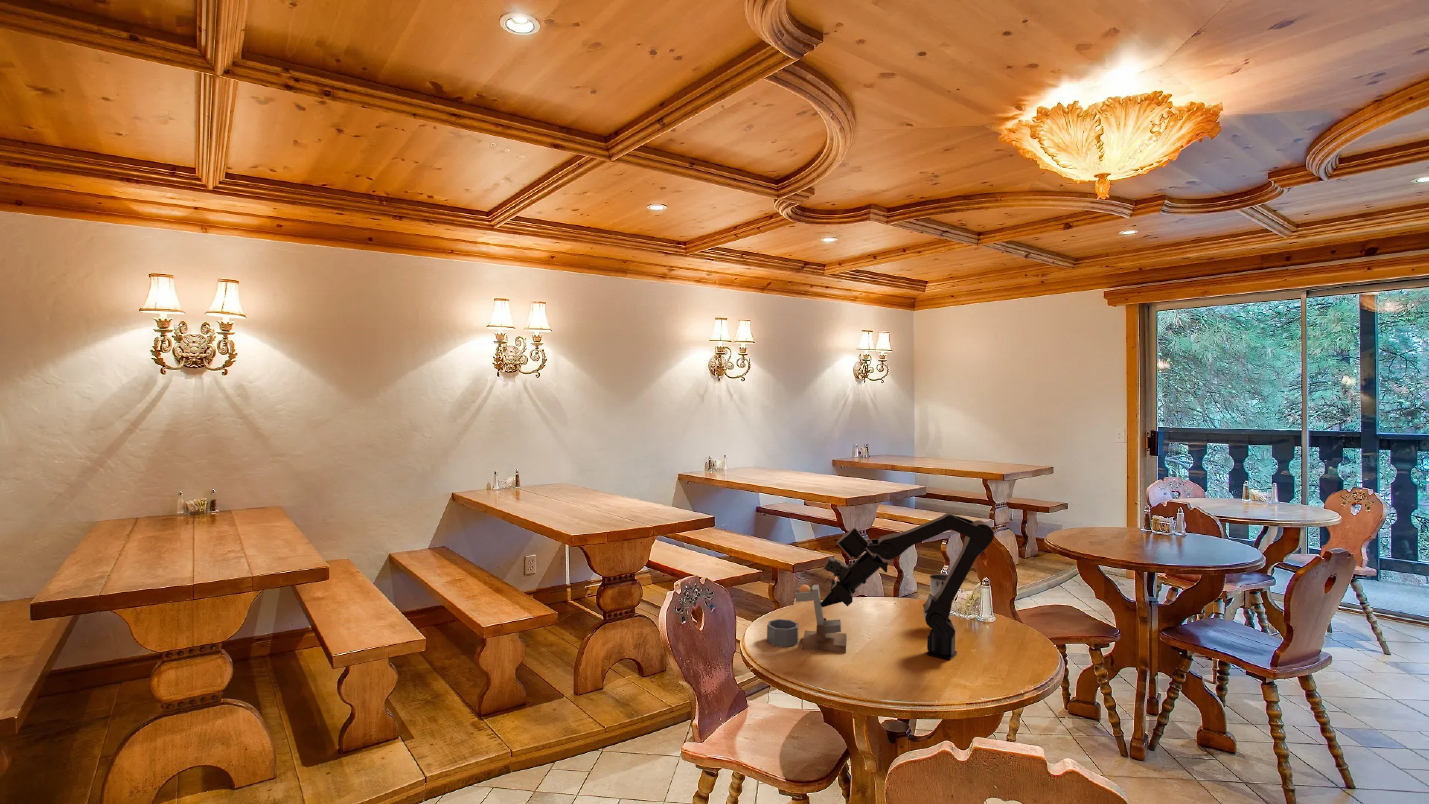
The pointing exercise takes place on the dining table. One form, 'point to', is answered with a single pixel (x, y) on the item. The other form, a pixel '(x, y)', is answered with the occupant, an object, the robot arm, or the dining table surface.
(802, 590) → the ball
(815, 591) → the lever
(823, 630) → the base
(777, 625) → the cup
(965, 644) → the dining table surface
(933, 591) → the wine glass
